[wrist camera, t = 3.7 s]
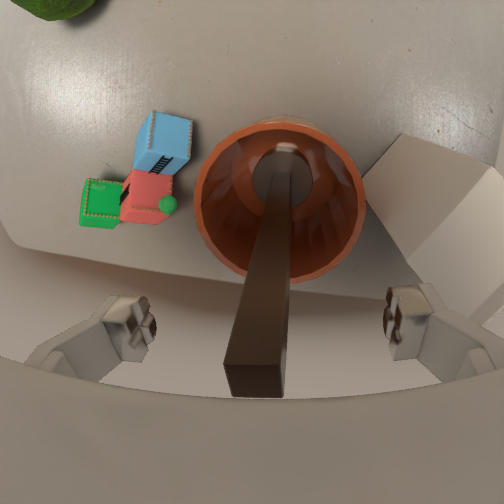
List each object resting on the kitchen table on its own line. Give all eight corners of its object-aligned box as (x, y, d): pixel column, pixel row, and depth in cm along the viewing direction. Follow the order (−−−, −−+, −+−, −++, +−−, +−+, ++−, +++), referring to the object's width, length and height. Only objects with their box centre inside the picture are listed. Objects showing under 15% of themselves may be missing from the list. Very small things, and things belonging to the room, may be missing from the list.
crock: (336, 112, 25) (363, 117, 15) (341, 221, 30) (362, 280, 20) (220, 122, 27) (180, 133, 17) (235, 227, 32) (209, 287, 22)
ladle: (308, 144, 26) (365, 297, 6) (312, 197, 28) (345, 429, 8) (253, 148, 27) (132, 303, 7) (259, 201, 29) (186, 425, 9)
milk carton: (354, 185, 28) (431, 306, 11) (402, 132, 25) (538, 189, 8) (402, 230, 29) (488, 366, 12) (446, 181, 26) (571, 279, 9)
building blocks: (151, 168, 34) (195, 118, 25) (146, 235, 33) (191, 206, 24) (87, 158, 30) (108, 98, 20) (78, 229, 29) (90, 193, 19)
